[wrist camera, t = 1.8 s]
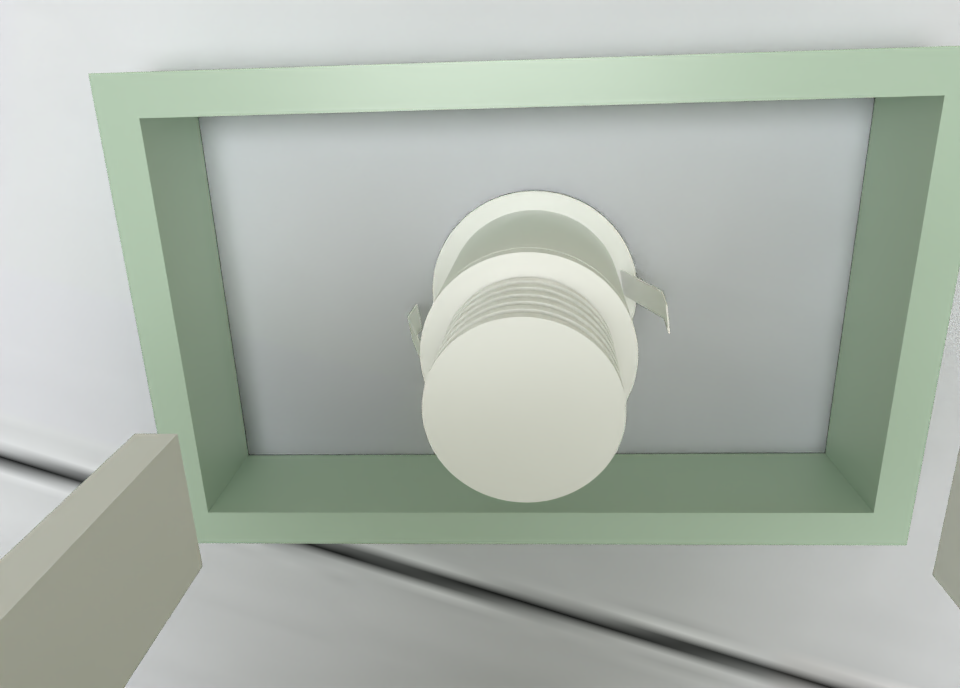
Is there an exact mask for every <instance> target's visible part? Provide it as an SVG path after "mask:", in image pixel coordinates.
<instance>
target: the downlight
mask: <svg viewBox="0 0 960 688" xmlns="http://www.w3.org/2000/svg"><path fill="white" fill-rule="evenodd" d="M432 293H433V305H432V307H431V309H430V311H429V313H428V315H427V318H426V320H425V323H424V327H423V331H422V335H421V342H420V340H419V338H418V334H419V333H420V331H421V329H422V324H421V319H420V314H419V309H418V305H417V304H416V305H415V307H414V308H413V309H412V311H411V312H410V314H409V315H408V316H407V317H408V322H409V327H410V332H411V336H412V341H413V344H414V346H415V348H416V351H417V353H418V355H419V358H420V363H421V369H422V374H423V378H424V382H425V386H424V390H423V396H422V419H423V425H424V429H425V433H426V436H427V438H428V441H429V443H430V445H431V447H432V449H433V451H434V453H435V454H436V456H437V457H438V459H439V460H440V461H441V463H442V464H443V465H444V466H445V467H446V468H447V470H448V471H449V472H450V473H451V474H453V475H454V476H455V477H456V478H457V479H459V480H460V481H461V482H463V483H464V484H465V485H467V486H469V487H470V488H472V489H474V490H476V491H478V492H480V493H482V494H485V495H487V496H490V497H493V498H497V499H501V500H506V501H512V502H527V503H528V502H541V501H548V500H552V499H556V498H559V497H562V496H565V495H568V494H570V493H572V492H575V491H576V490H578V489H580V488H582V487H583V486H585V485H586V484H588V483H589V482H591V481H592V480H593V479H594V478H596V477H597V476H598V475H599V474H600V473H601V472H602V471H603V470H604V469H605V468H606V466H607V465H608V464H609V463H610V461H611V460H612V458H613V457H614V455H615V453H616V451H617V449H618V447H619V445H620V443H621V440H622V437H623V433H624V430H625V424H626V401H627V399H628V397H629V395H630V393H631V390H632V387H633V385H634V381H635V378H636V373H637V367H638V343H637V337H636V333H635V329H634V325H633V322H632V320H633V316H634V313H635V308H636V303H638V304H640V305H641V306H643V307H645V308H646V309H648V310H650V311H652V312H653V313H655V314H657V315H658V316H660V317H662V318H663V319H664V321H665V324H666V327H667V331H668V334H670V327H669V316H668V305H667V302H666V299H665V296H664V293H663V291H662V290H660V289H658V288H656V287H654V286H652V285H650V284H648V283H646V282H644V281H643V280H641V279H639V278H637V277H636V272H635V267H634V264H633V260H632V258H631V255H630V252H629V250H628V248H627V246H626V244H625V242H624V240H623V239H622V237H621V236H620V234H619V233H618V231H617V230H616V229H615V228H614V226H613V225H612V224H611V223H610V222H609V221H608V220H607V219H606V218H605V217H604V216H603V215H601V214H600V213H599V212H598V211H596V210H595V209H593V208H592V207H590V206H589V205H587V204H585V203H583V202H581V201H580V200H577V199H575V198H572V197H570V196H567V195H563V194H560V193H555V192H549V191H521V192H515V193H510V194H506V195H503V196H500V197H497V198H495V199H492V200H490V201H488V202H486V203H484V204H483V205H481V206H479V207H478V208H476V209H475V210H473V211H472V212H471V213H469V214H468V215H467V216H466V217H465V218H464V219H463V220H462V221H461V222H460V223H459V224H458V225H457V226H456V227H455V228H454V230H453V231H452V232H451V234H450V235H449V237H448V238H447V240H446V241H445V243H444V245H443V247H442V249H441V251H440V254H439V256H438V259H437V262H436V266H435V270H434V275H433V286H432Z"/></svg>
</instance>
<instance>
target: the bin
mask: <svg viewBox="0 0 960 688" xmlns="http://www.w3.org/2000/svg"><path fill="white" fill-rule="evenodd" d="M89 80H90V85H91V90H92V95H93V100H94V106H95V111H96V116H97V121H98V126H99V132H100V137H101V142H102V147H103V152H104V158H105V163H106V168H107V173H108V178H109V184H110V189H111V194H112V199H113V204H114V210H115V215H116V220H117V225H118V230H119V235H120V241H121V246H122V251H123V256H124V261H125V267H126V272H127V277H128V282H129V287H130V293H131V298H132V303H133V308H134V313H135V319H136V324H137V329H138V334H139V339H140V345H141V350H142V355H143V360H144V365H145V371H146V376H147V381H148V386H149V391H150V397H151V402H152V407H153V412H154V417H155V423H156V428H157V433H158V434H178V439H179V444H180V449H181V455H182V460H183V465H184V471H185V476H186V481H187V487H188V492H189V497H190V503H191V508H192V513H193V519H194V524H195V529H196V535H197V540H198V543H314V544H651V545H907V540H908V535H909V529H910V524H911V519H912V514H913V508H914V503H915V498H916V492H917V487H918V482H919V477H920V471H921V466H922V461H923V456H924V450H925V445H926V440H927V435H928V429H929V424H930V419H931V414H932V408H933V403H934V398H935V393H936V387H937V382H938V377H939V372H940V366H941V361H942V356H943V351H944V345H945V340H946V335H947V330H948V324H949V319H950V314H951V309H952V303H953V298H954V293H955V288H956V282H957V277H958V272H959V266H960V46H939V47H907V48H876V49H845V50H813V51H782V52H751V53H719V54H688V55H656V56H625V57H594V58H562V59H531V60H500V61H468V62H437V63H406V64H374V65H343V66H312V67H280V68H249V69H218V70H186V71H155V72H123V73H92V74H89ZM872 97H875V103H874V110H873V117H872V124H871V132H870V139H869V146H868V153H867V160H866V167H865V174H864V181H863V188H862V195H861V203H860V210H859V217H858V224H857V231H856V238H855V245H854V252H853V259H852V267H851V274H850V281H849V288H848V295H847V302H846V309H845V316H844V323H843V331H842V338H841V345H840V352H839V359H838V366H837V373H836V380H835V387H834V394H833V402H832V409H831V416H830V423H829V430H828V437H827V444H826V451H825V453H755V454H615V455H614V457H613V458H612V460H611V461H610V463H609V464H608V465H607V466H606V468H605V469H604V470H603V471H602V472H601V473H600V474H599V475H598V476H597V477H596V478H594V479H593V480H592V481H591V482H589V483H588V484H586V485H585V486H583V487H582V488H580V489H578V490H576V491H575V492H572V493H570V494H568V495H565V496H562V497H559V498H556V499H552V500H548V501H541V502H528V503H527V502H512V501H506V500H501V499H497V498H493V497H490V496H487V495H485V494H482V493H480V492H478V491H476V490H474V489H472V488H470V487H469V486H467V485H465V484H464V483H463V482H461V481H460V480H459V479H457V478H456V477H455V476H454V475H453V474H451V473H450V472H449V471H448V470H447V468H446V467H445V466H444V465H443V464H442V463H441V461H440V460H439V459H438V457H437V456H436V455H248V449H247V442H246V436H245V429H244V422H243V416H242V409H241V402H240V395H239V389H238V382H237V375H236V369H235V362H234V355H233V348H232V342H231V335H230V328H229V322H228V315H227V308H226V301H225V295H224V288H223V281H222V275H221V268H220V261H219V254H218V248H217V241H216V234H215V228H214V221H213V214H212V207H211V201H210V194H209V187H208V181H207V174H206V167H205V160H204V154H203V147H202V140H201V134H200V127H199V120H198V117H204V116H239V115H274V114H309V113H345V112H380V111H415V110H450V109H485V108H520V107H555V106H590V105H626V104H661V103H696V102H731V101H766V100H801V99H836V98H872Z"/></svg>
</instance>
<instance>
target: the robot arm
mask: <svg viewBox="0 0 960 688" xmlns="http://www.w3.org/2000/svg"><path fill="white" fill-rule="evenodd" d="M201 568H202V561H201V556H200V551H199V545H198V540H197V535H196V529H195V524H194V519H193V513H192V508H191V503H190V497H189V492H188V487H187V481H186V476H185V471H184V465H183V460H182V455H181V449H180V444H179V439H178V434H134V435H133V436H132V437H131V438H130V439H129V440H128V441H127V442H126V443H124V444H123V445H122V446H121V447H120V448H119V449H118V450H117V451H116V452H115V453H114V454H113V455H112V456H111V457H110V458H108V459H107V460H106V461H105V462H104V463H103V464H102V465H101V466H100V467H99V468H98V469H97V470H96V471H95V472H94V473H93V474H91V475H90V476H89V477H88V478H87V479H86V480H85V481H84V482H83V483H82V484H81V485H80V486H79V487H78V488H77V489H75V490H74V491H73V492H72V493H71V494H70V495H69V496H68V497H67V498H66V499H65V500H64V501H63V502H62V503H61V504H60V505H58V506H57V507H56V508H55V509H54V510H53V511H52V512H51V513H50V514H49V515H48V516H47V517H46V518H45V519H44V520H42V521H41V522H40V523H39V524H38V525H37V526H36V527H35V528H34V529H33V530H32V531H31V532H30V533H29V534H28V535H26V536H25V537H24V538H23V539H22V540H21V541H20V542H19V543H18V544H17V545H16V546H15V547H14V548H13V549H12V550H11V551H9V552H8V553H7V554H6V555H5V556H4V557H3V558H2V559H1V560H0V688H124V687H125V685H126V684H127V682H128V681H129V679H130V678H131V676H132V675H133V673H134V671H135V670H136V668H137V667H138V665H139V664H140V662H141V661H142V659H143V658H144V656H145V654H146V653H147V651H148V650H149V648H150V647H151V645H152V644H153V642H154V641H155V639H156V637H157V636H158V634H159V633H160V631H161V630H162V628H163V627H164V625H165V624H166V622H167V620H168V619H169V617H170V616H171V614H172V613H173V611H174V610H175V608H176V607H177V605H178V603H179V602H180V600H181V599H182V597H183V596H184V594H185V593H186V591H187V590H188V588H189V586H190V585H191V583H192V582H193V580H194V579H195V577H196V576H197V574H198V573H199V571H200V569H201ZM933 576H934V577H935V579H936V580H937V581H938V582H939V584H940V585H941V586H942V587H943V589H944V590H945V591H946V592H947V594H948V595H949V596H950V597H951V599H952V600H953V601H954V602H955V604H956V605H957V606H958V607H959V609H960V448H959V453H958V458H957V462H956V467H955V472H954V476H953V481H952V486H951V490H950V495H949V500H948V504H947V509H946V514H945V519H944V523H943V528H942V533H941V537H940V542H939V547H938V551H937V556H936V561H935V565H934V570H933Z"/></svg>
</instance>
